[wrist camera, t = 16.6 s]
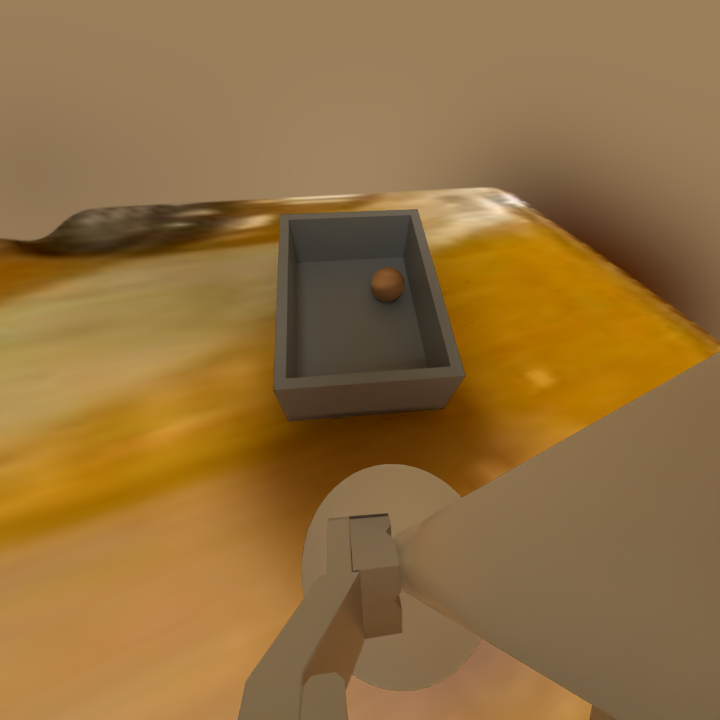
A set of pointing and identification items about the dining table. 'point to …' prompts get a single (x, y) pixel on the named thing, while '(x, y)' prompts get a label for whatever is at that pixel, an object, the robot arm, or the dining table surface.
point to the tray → (359, 318)
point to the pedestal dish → (564, 560)
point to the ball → (387, 284)
